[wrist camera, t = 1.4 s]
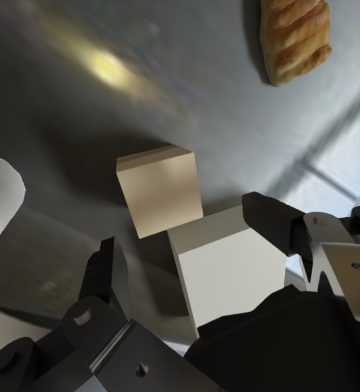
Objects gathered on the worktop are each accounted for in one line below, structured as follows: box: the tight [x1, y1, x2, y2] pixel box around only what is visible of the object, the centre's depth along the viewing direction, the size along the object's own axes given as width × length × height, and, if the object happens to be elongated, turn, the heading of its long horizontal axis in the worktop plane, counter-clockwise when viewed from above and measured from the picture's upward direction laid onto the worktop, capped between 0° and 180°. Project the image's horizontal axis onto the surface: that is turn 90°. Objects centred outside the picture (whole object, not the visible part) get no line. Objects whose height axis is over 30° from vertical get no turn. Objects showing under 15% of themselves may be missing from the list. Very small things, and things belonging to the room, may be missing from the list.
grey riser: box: [167, 204, 286, 338], centre depth 26 cm, size 18×14×5 cm
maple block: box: [116, 144, 203, 239], centre depth 17 cm, size 6×6×6 cm
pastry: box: [259, 0, 332, 87], centre depth 17 cm, size 9×7×4 cm
